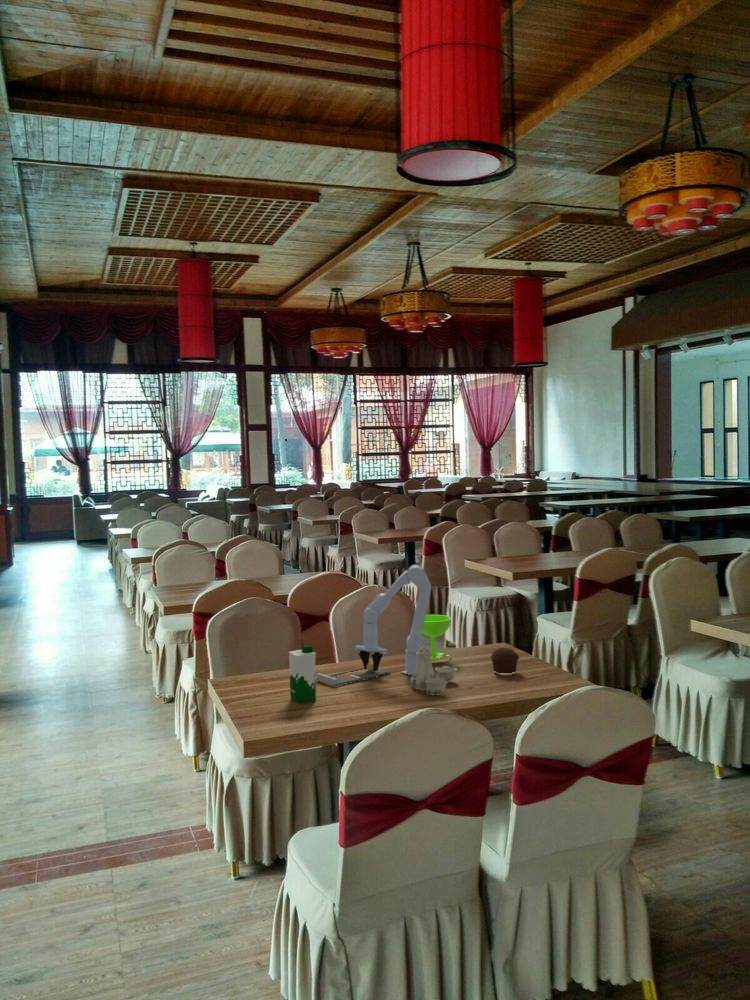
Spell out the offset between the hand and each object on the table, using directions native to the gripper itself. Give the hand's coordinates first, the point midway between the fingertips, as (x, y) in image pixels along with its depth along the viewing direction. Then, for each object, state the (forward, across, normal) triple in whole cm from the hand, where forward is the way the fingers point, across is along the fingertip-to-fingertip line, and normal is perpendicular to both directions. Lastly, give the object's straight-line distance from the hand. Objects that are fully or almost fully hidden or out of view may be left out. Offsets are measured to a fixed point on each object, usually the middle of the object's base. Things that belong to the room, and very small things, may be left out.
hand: (371, 669), depth 333 cm
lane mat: (+2, +3, +9) cm, 9 cm away
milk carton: (+2, +1, +44) cm, 44 cm away
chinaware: (+2, -32, +6) cm, 32 cm away
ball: (-1, 0, 0) cm, 1 cm away
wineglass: (+2, -10, -33) cm, 35 cm away
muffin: (+2, -47, -27) cm, 55 cm away
